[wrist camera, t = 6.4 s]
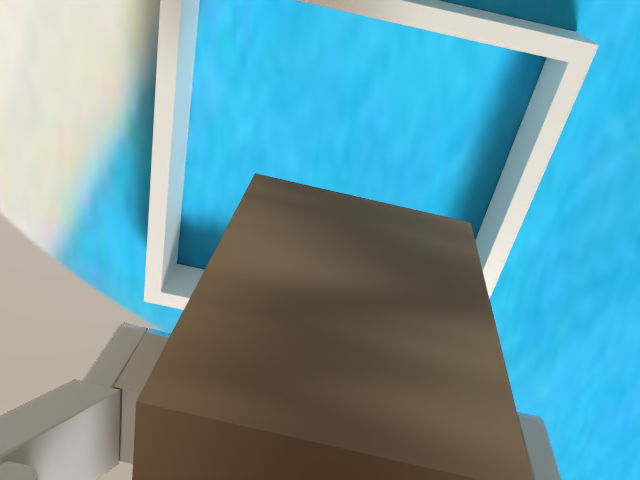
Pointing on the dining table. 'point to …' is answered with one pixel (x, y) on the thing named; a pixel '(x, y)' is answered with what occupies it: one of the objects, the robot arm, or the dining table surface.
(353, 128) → the dining table surface
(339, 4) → the white square frame
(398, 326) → the walnut block
